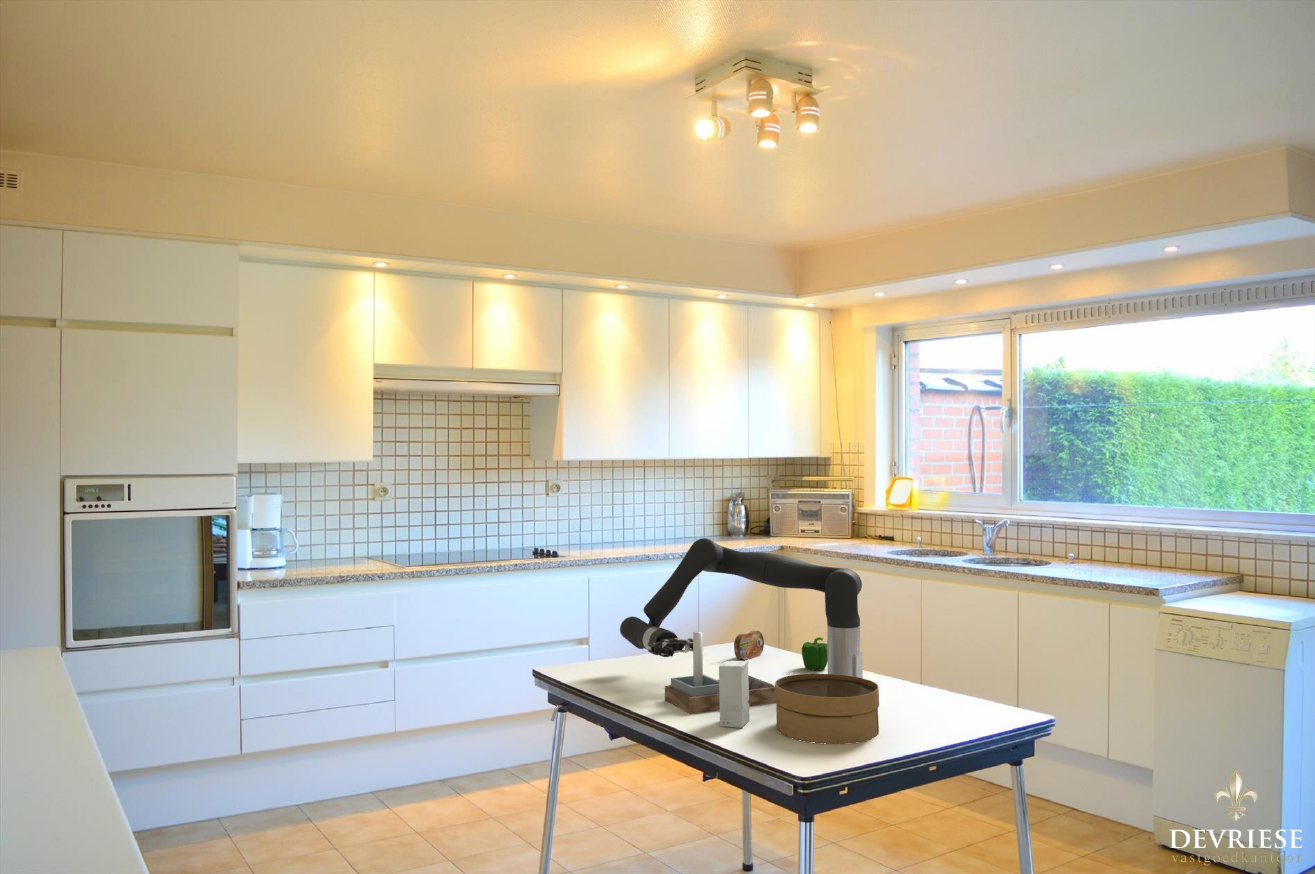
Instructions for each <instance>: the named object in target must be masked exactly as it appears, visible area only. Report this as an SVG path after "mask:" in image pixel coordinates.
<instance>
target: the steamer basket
mask: <svg viewBox="0 0 1315 874" xmlns="http://www.w3.org/2000/svg"><path fill="white" fill-rule="evenodd" d="M774 687H775V702H776V703H775V704H776V707H775V708H776V712H775V713H776V731H777V732H778V733H779V734H780V733H781V734H780V735H782V736H784V737H786V738H789V739H791V738H793V739H792V740H795V741H799V740H801V741H800V742H803V741H805V742H804V743H809V742H815V743H814V744H817V743H823V744H822V745H846V744H845V743H852V744H857V743H856V742H859V743H863V742H868V741H870V740H873V739H874V738H875V737H877V736H878V735H879V732H880V727H879V726H880V725H879V707H880V689H879V688H880V687H879V685H878V684H877V683H876V682H874V681H872V680H870V679H866V678H864V677H863V678H858V677H853V676H846V675H837V674H828V673H803V674H802V673H800V674H792V675H786V676H783V677H780V678H778V679H777V680H775V682H774ZM872 738H873V739H872ZM867 740H868V741H867ZM824 743H826V744H824Z"/></svg>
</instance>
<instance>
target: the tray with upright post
mask: <svg viewBox="0 0 1315 874" xmlns="http://www.w3.org/2000/svg"><path fill="white" fill-rule="evenodd" d="M703 635H704V634H703V631H693V632H692V639H693V652H692V655H693V657H692V658H693V659H692V660H693V663H692V669H693V673H692V675H688V676H680V677H679V676H678V677H671V678H670V685H671V688H674V689H676V690H678V691H680V692H682V693H684V694H686V695H689V696H691V697H696V696H704V695H712V694H719V681H718V680H719V679H715V678H713V677H711V676H708V675H706V674H703V673H704V668H703V667H704V664H703V663H704V662H703V661H704V658H703V657H704V654H703V649H704V648H703V646H704V644H703Z"/></svg>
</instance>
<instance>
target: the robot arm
mask: <svg viewBox="0 0 1315 874" xmlns="http://www.w3.org/2000/svg"><path fill="white" fill-rule="evenodd" d="M702 572H706V573H719V574H727V575H734V576H738V577H741V578H744V579H747V580H750V581H752V582H757V583H760V584H763V585H767V586H772V587H776V588H783V589H798V590H799V589H801V590H803V589H804V590H813V591H814V590H815V591H818V592H822V593H824V607H825V608H824V610H825V611H824V612H825V617H826V623H827V624H826V625H827V626H826V629H827V631H826V632H827V633H826V636H827V638H826V639H827V640H826V641H827V643H826V644H827V674H837V675H846V676H853V677H858V678H863V679H864V677H863V676H864V675H863V673H864V671H863V669H864V668H863V667H864V666H863V665H864V664H863V660H864V659H863V652H862V651H861V619H860V618H861V617H860V615H859V605H858V603H859V602H858V601H859V600H858V598H859V597H858V596H859V594H860V592H861V591H862V588H863V582H862V579H861V576H860V575H859V574H858V573H857V572H856V571H854V570H853V569H850V568H847V567H846V568H845V567H836V566H835V567H834V566H826V565H825V566H824V565H818V564H814V563H810V562H806V561H803V560H800V559H796V558H793V557H789V556H784V555H782V554H781V555H780V554H775V553H770V552H762V551H741V550H735V549H733V548H728V547H725V546H723V545H720V544H718V543H716V542H715V541H713V540H712V539H710V538H706V537H705V538H703V537H702V538H699V539H696V540H695V541H694V542H693V543H692V545H690V547H689V548H688V550H687V552H686V554H685V555H684V556H683V558H682V560H681V561H680V563H679V564H678V565H677V567H676V568H675V570H674V571H673V573H672V574H671V575H670V577H669V578H668V579H667V581H665V582H664V584H663V585H662V586H661V587H660V588H659V590H658V591H656V593H655V594H654V595H653V596H652V598H651V599H650V600H649V601H648V602H647V603H646V604H645V605H644V607H643V613H644V614H645V616H646V617H647V618H648V619H649V620H648V623H647V622H645V621H644V620H642V619H641V618H640V617H637V616H627V617H626V618H625V619H623V620H622V621H621V624H620V627H619V632H620V635H621V636H622V638H624V639H625V640H626V641H628V642H629V643H630V644H631V645H633V646H634V647H635V648H637V649H638V650H643V649H645V650H647V652H648V653H650V654H652V655H655V656H660V657H661V658H662V657H663V658H669V657H673V656H674V654H678V653H683V654H684V653H685V654H687V653H689V652H692V653H693V638H691V637H690V638H687V639H683V638H680V637H678V635H677V634H676V633H675V632H674V631H671V630H670V629H666V628H663V627H661V625H662V623H663V622H664V620H665V619H666V618H667V617H668V616H669V615H670V613H672V611H674V609H675V608H676V607H677V605H678V604H679V602H680V601H681V599H682V597H683V595H684V594H685V592H686V590H687V588H688V587H689V586H690V584H692V581H694V579H695V578H696V577H698V575H699V574H700V573H702Z"/></svg>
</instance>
